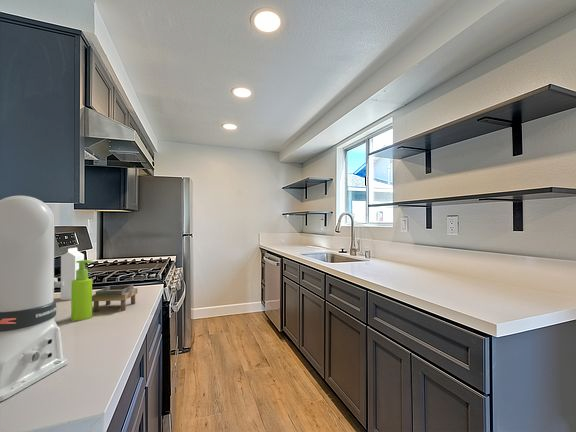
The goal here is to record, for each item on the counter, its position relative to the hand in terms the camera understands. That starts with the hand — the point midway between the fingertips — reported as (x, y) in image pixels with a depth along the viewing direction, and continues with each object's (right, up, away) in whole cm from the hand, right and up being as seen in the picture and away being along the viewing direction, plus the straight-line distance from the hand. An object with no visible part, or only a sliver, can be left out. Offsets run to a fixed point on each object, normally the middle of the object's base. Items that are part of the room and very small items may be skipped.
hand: (53, 287), depth 100 cm
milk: (-14, -12, +27) cm, 33 cm away
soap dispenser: (+10, -11, +1) cm, 15 cm away
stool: (+14, -11, +13) cm, 22 cm away
